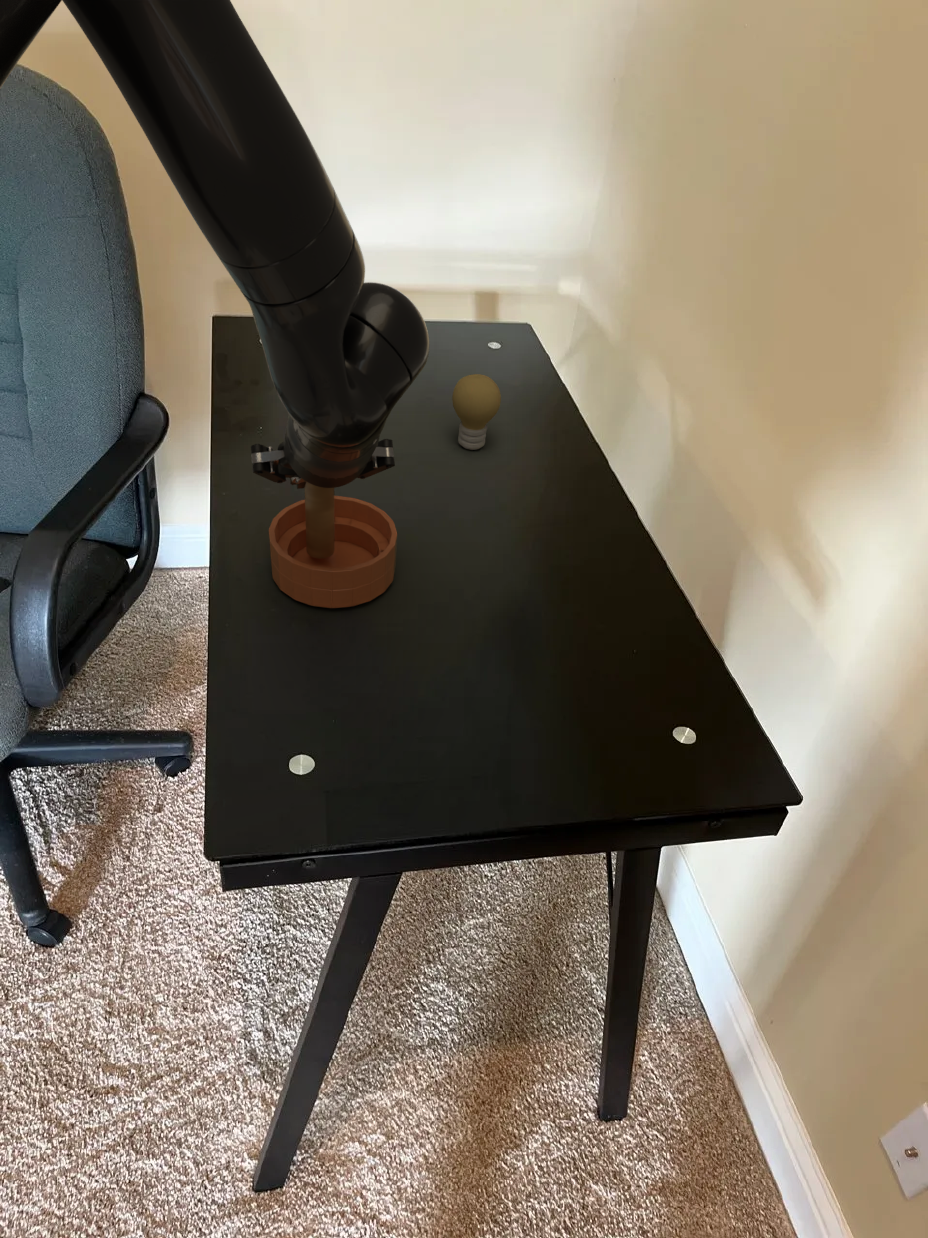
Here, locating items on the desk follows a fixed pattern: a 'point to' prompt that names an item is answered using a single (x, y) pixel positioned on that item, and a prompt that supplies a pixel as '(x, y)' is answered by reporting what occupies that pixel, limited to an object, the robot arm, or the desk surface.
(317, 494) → the stick
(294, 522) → the bowl
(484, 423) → the light bulb
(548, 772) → the desk surface
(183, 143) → the robot arm
